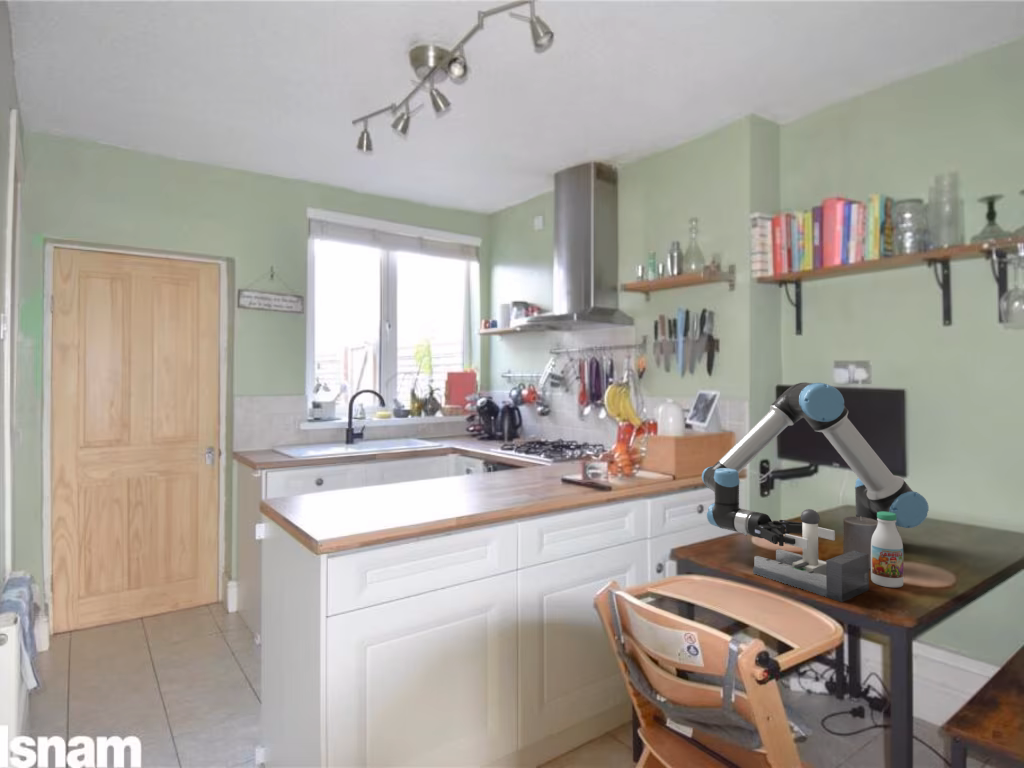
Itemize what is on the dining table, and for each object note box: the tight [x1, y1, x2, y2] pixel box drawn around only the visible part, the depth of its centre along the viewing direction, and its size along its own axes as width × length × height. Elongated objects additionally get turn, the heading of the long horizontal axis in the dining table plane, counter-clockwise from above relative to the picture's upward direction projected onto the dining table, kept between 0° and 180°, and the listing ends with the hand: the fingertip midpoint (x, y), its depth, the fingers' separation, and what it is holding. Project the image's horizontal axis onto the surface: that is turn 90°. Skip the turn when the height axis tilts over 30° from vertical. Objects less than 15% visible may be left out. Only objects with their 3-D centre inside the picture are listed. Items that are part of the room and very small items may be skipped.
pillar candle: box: [842, 516, 878, 570], centre depth 179 cm, size 10×10×15 cm
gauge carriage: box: [792, 508, 826, 575], centre depth 164 cm, size 6×11×19 cm, turn 123°
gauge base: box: [752, 548, 870, 603], centre depth 166 cm, size 26×14×10 cm, turn 33°
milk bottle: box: [870, 511, 904, 589], centre depth 163 cm, size 8×8×20 cm
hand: (821, 539), depth 162 cm, fingers open, 13 cm apart
